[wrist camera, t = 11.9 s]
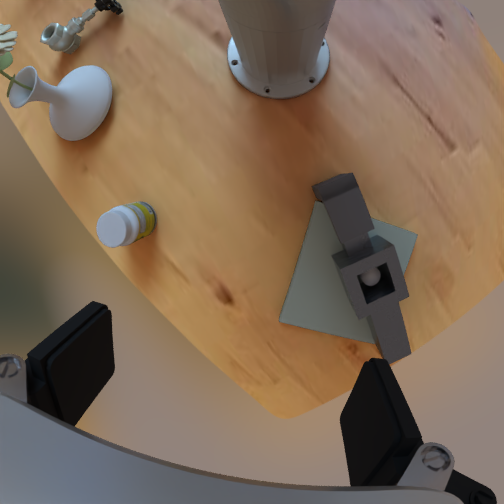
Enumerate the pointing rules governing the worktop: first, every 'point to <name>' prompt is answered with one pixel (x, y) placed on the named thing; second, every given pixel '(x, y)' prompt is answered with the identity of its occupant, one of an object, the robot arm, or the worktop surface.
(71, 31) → the valve
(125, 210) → the supplement bottle
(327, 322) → the board
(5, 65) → the flower in vase
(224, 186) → the worktop surface
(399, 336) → the link
